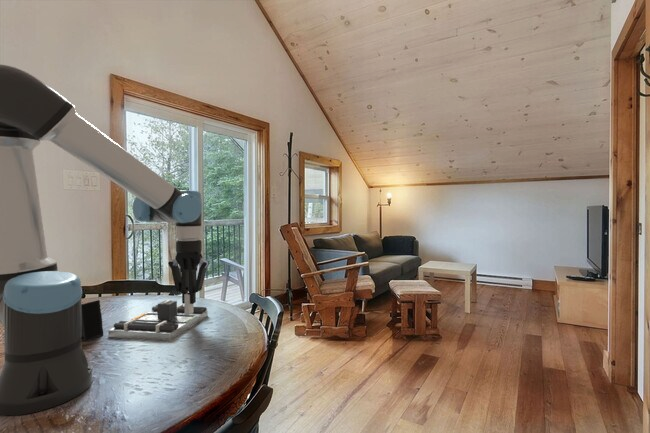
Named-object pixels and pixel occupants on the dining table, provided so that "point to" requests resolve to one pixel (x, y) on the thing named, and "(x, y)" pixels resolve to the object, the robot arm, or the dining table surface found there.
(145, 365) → the dining table surface
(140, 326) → the cords left
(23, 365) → the robot arm
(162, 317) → the dark grey block
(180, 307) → the cords right
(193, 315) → the panel
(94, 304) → the speaker
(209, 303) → the dining table surface
